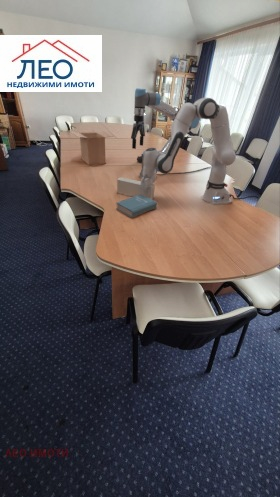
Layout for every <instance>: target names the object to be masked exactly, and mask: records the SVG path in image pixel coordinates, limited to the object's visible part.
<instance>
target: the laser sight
mask: <svg viewBox="0 0 280 497" xmlns="http://www.w3.org/2000/svg"><path fill="white" fill-rule="evenodd" d="M142 158H143V153H141V155H140V156H139V155H137V157H136V163H140V164H142Z"/></svg>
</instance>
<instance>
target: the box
mask: <svg viewBox="0 0 280 497" xmlns="http://www.w3.org/2000/svg"><path fill="white" fill-rule="evenodd" d="M70 133H71V134H72V135H74V136H75V137H77V138H79V144H80V153H81V160H83V162H85V163H86V165H87V166H95V165H97V166H98V165H106V163H107V162H106V158H107V157H106V138H113V137H114V136H113V135H111V134H109V133H108V132H105V131H98V132H96V131H95V130H92V129H91V130H77V132H76V131H70Z"/></svg>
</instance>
